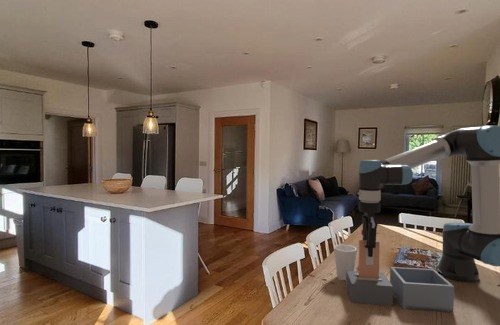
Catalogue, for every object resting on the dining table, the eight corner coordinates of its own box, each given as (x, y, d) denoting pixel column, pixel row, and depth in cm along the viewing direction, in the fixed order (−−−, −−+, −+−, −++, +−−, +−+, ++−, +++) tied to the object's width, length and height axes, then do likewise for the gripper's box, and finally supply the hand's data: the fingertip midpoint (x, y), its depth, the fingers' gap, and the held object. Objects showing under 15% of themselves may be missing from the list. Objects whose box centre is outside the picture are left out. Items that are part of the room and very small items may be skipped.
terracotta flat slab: (377, 279, 113) (378, 240, 113) (379, 281, 112) (379, 241, 111) (358, 278, 114) (358, 239, 114) (359, 280, 113) (359, 241, 112)
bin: (433, 292, 117) (434, 269, 116) (453, 312, 102) (454, 286, 102) (389, 289, 119) (390, 266, 119) (403, 308, 104) (403, 283, 104)
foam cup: (338, 271, 137) (339, 243, 136) (359, 276, 131) (359, 247, 130) (330, 278, 129) (330, 248, 129) (351, 284, 123) (351, 253, 123)
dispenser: (382, 290, 118) (383, 271, 118) (392, 305, 106) (393, 284, 106) (346, 287, 120) (346, 269, 120) (351, 302, 108) (351, 282, 108)
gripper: (355, 197, 120) (354, 256, 121) (363, 204, 105) (362, 270, 106) (375, 198, 119) (374, 257, 120) (385, 204, 104) (385, 271, 105)
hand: (368, 263), depth 113 cm, fingers closed on terracotta flat slab, 2 cm apart
